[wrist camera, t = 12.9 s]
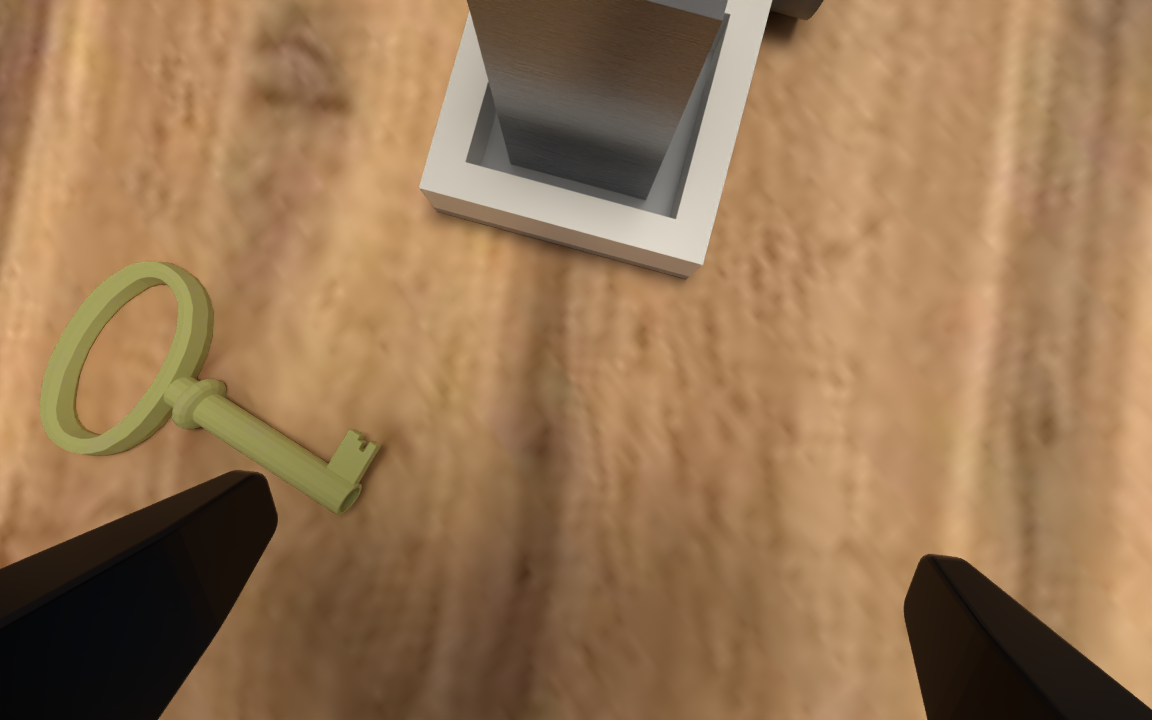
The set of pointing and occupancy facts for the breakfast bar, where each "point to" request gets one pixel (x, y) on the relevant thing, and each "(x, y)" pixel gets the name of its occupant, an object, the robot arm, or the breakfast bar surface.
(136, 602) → the robot arm
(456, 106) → the chassis
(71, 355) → the key
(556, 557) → the breakfast bar surface
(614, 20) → the block
